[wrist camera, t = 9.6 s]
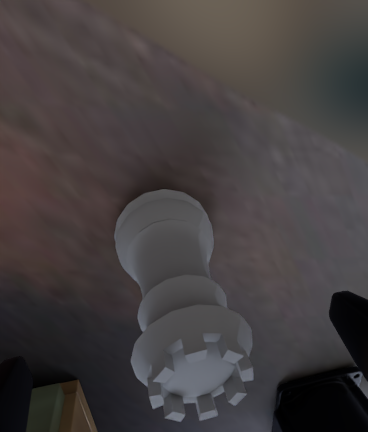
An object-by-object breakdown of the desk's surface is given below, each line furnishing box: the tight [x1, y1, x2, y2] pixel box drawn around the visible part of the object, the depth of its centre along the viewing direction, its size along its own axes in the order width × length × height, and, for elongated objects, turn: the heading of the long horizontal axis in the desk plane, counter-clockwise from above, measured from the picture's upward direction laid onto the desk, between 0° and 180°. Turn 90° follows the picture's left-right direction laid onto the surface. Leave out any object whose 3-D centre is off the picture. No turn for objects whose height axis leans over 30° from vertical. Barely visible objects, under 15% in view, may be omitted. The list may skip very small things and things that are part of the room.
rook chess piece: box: [114, 189, 254, 422], centre depth 10 cm, size 4×4×8 cm
